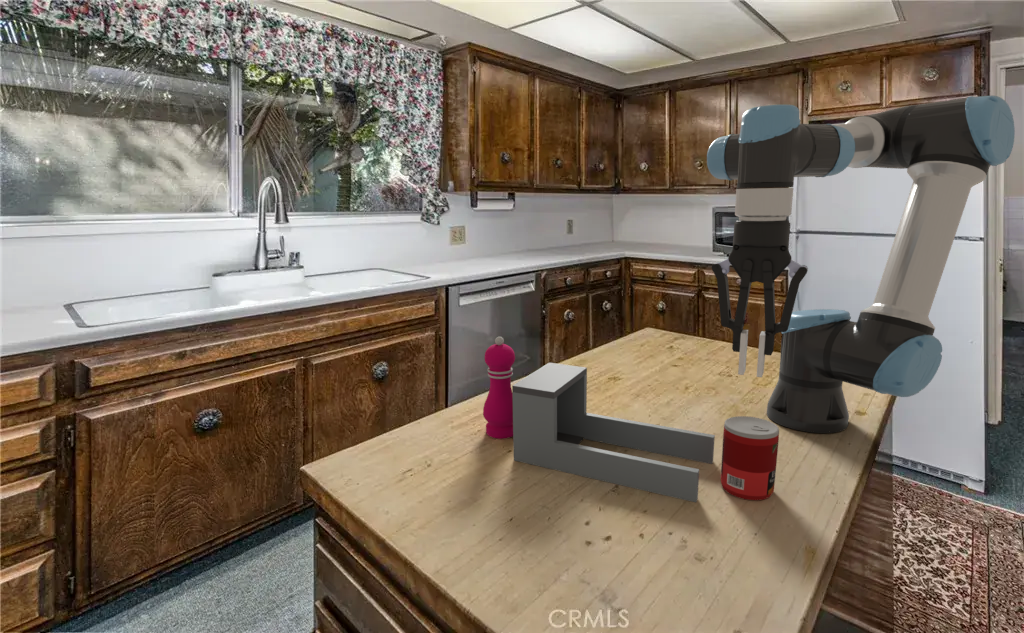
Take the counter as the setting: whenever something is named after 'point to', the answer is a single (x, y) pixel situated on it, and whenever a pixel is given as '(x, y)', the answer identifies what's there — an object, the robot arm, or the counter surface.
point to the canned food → (749, 457)
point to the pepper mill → (499, 390)
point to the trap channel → (599, 437)
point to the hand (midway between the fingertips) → (750, 373)
